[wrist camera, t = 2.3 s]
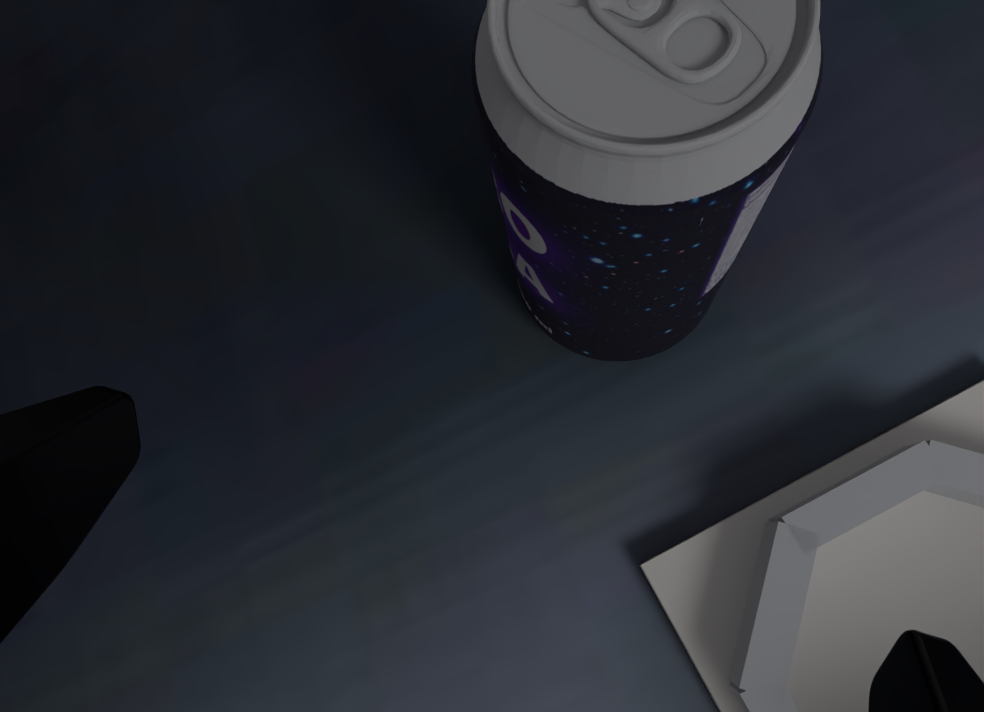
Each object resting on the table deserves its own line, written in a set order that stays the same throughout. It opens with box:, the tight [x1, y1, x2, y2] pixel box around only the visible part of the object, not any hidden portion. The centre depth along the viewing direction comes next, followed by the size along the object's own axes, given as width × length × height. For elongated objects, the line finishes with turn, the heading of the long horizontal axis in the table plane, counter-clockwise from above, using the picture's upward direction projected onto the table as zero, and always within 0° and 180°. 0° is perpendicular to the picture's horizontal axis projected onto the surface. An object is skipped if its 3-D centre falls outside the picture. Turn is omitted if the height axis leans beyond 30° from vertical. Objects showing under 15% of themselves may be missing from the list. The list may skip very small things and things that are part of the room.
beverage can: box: [472, 0, 823, 361], centre depth 17 cm, size 6×6×12 cm
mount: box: [639, 380, 984, 712], centre depth 19 cm, size 11×11×2 cm
